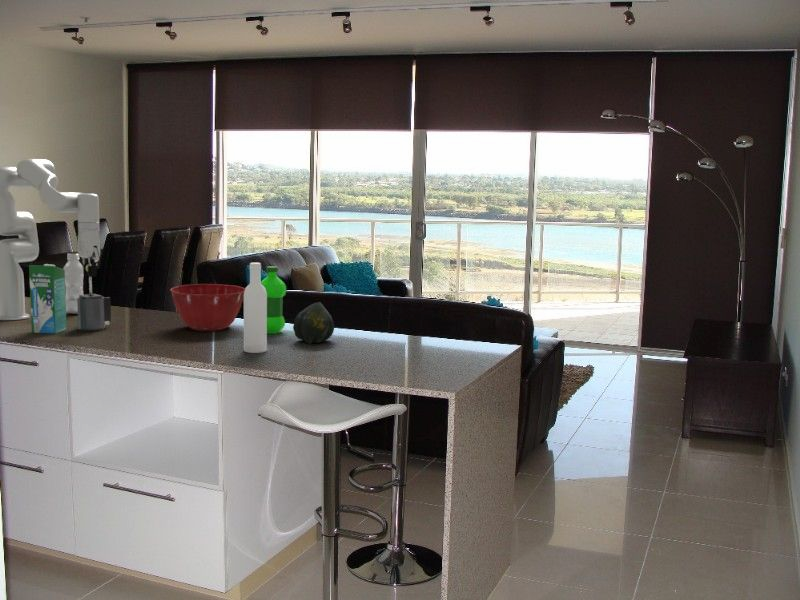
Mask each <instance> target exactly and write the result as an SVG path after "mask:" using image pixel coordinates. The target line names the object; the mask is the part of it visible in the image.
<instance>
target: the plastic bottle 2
mask: <svg viewBox="0 0 800 600" xmlns="http://www.w3.org/2000/svg"><path fill="white" fill-rule="evenodd" d="M266 272H267V276H266V277H265V278H263V280H261V284H262V285H263V286H264V287H265V290H266V293H267V334H273V335H274V334H278V333H280V332H281V331H282V330H283V329H284V328H285V325H286V319H285V317H284V316H283V314H284V313H283V310H284V309H283V304H284V300H283V297H285V296H286V293H287V285H286V283H285V282H284V281H283V280H282V279H281V278H280V277H278V276H277V273H278V272H279V267H278V266H275V265H274V266H272V265H271V266H266Z"/></svg>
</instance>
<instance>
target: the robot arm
mask: <svg viewBox="0 0 800 600" xmlns="http://www.w3.org/2000/svg"><path fill="white" fill-rule="evenodd" d="M58 186H59V179H58V176H57V175H56V168H55V165H54V163H52V162H51V161H50V160H48V159H45V158H24V159H21V160H20V161H18V163H17V164H16V166H6V165H5V166H4V165H3V166H0V236H7V237H9V236H18V238H5V239H0V321H18V320H21V321H22V320H26V319H28V318H30V314H29V313H26V306H25V305H26V303H25V302H26V301H25V299H26V298H25V278H24V271H23V269H22V267H21V266H20V264H19V263H27V262H33V261H35V260H37V258H38V257H39V253H40V246H39V245H40V243H39V237H38V229H37V223H36V219H35V217H34V216H33V215H32V213H31V212H29V211H26V210H25V211H24V210H17V206H16V200H15V198H14V195H13V194H12V192H11V191H9V189H31V188H34V189H35V190H36V191H38V194H39V198H40V201H41V202H42V203H43V204H44V205H45V206H47V208H49V209H51V210H52V211H54V212H56V213H61V214H62V213H63V214H66V213H68V214H69V213H77V231H78V232H77V246H76V247H77V248H76V249H77V250H76V251H77V253H76V254H78V256H79V258H81V260H82V266H83V275H84V276H85V277H86V276H87V277H88V278H89V277H97V276H98V268H97V267H98V262H99V261H100V256H101V242H100V241H101V240H100V231H101V229H100V199H99V195H98V194H96V193H90V192H89V193H86V192H85V193H84V192H79V191H77V192H75V191H74V192H72V191H64V192H62V191H58V190H57V188H58ZM88 264H89V266H88V272H87V271H86V265H88ZM84 276H83V277H84Z"/></svg>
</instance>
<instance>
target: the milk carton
mask: <svg viewBox="0 0 800 600" xmlns="http://www.w3.org/2000/svg"><path fill="white" fill-rule="evenodd" d="M28 268H29V269H28V271H29V272H28V273H29V274H28V275H29V293H30V294H29V298H30V301H29V302H30V322H31V324H30V325H31V327H30V328H31V333H32V334H52V335H53V334H57V333H61V332H63V331H66V330H67V312H66V286H65V270H64V268H60V267H57V266H56V265H55V264H50V263H49V264H48V263H45V264H43V265H38V264H37V265H35V264H34V265H33V264H30V265H28Z"/></svg>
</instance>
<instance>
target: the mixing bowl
mask: <svg viewBox="0 0 800 600" xmlns="http://www.w3.org/2000/svg"><path fill="white" fill-rule="evenodd" d="M245 289H246V287H242V286H239V285H232V284H231V285H230V284H219V283H215V284H214V283H197V284H194V283H193V284H183V285H177V286H174V287H172V288H170V289H169V291H170V292H171V296H172V298H173V299H172V300H173V303H174V306H175V309H176V311H177V313H178V315H179V317H180V319H181V321H182V322H183V323H184V324H185V326H187V327H188V328H190V329H192V330H194V331H200V332H214V331H215V332H216V331H223V330H225V329H226V328H228V327H229V326H231V325H232V324H233V323H234V321H235V319H237V318H236V317H237V316H238V313H239V312H240V309H241V308H242V304H243V302H244V291H245Z"/></svg>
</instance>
